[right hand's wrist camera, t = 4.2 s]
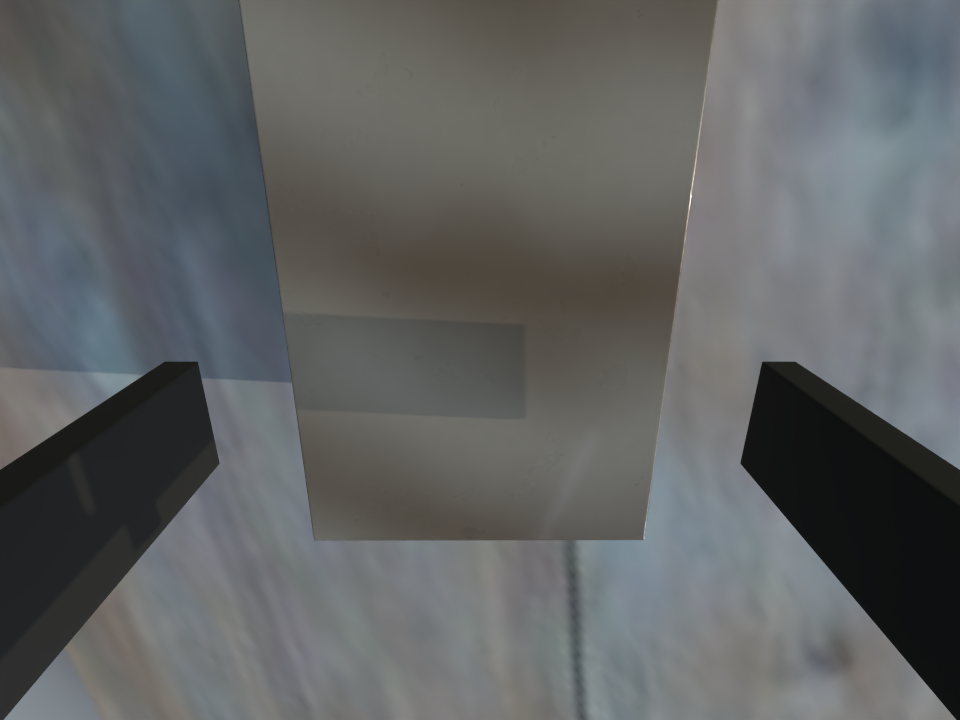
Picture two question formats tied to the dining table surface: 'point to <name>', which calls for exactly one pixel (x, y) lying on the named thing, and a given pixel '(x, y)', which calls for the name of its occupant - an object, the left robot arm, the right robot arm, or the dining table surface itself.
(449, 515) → the cabinet
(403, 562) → the dining table surface
